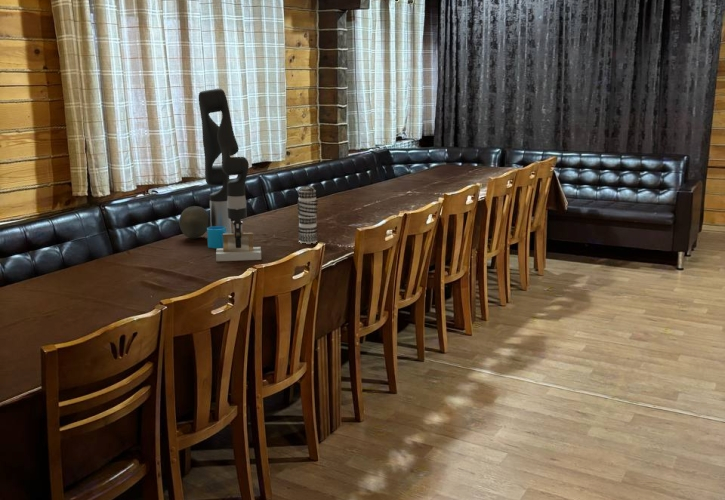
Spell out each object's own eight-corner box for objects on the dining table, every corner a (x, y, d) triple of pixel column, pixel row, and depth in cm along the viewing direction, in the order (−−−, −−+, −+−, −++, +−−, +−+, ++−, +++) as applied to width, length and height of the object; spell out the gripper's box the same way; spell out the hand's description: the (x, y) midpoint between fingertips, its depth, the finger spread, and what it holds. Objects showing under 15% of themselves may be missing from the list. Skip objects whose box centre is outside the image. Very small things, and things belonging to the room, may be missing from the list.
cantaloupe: (173, 239, 308) (171, 207, 304) (194, 234, 320) (192, 203, 317) (196, 243, 302) (195, 210, 298) (217, 237, 314) (215, 205, 310)
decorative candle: (315, 244, 300) (314, 189, 294) (295, 243, 302) (294, 188, 296) (320, 240, 309) (320, 186, 303) (301, 239, 310) (300, 185, 305)
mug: (203, 246, 296) (202, 228, 294) (217, 243, 302) (216, 225, 300) (223, 250, 289) (222, 231, 287) (236, 246, 296) (236, 228, 294)
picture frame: (223, 254, 277) (222, 233, 275) (253, 253, 279) (252, 232, 277) (223, 256, 275) (222, 234, 272) (253, 255, 277) (252, 233, 274)
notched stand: (217, 255, 280) (216, 248, 279) (260, 253, 283) (260, 246, 283) (216, 261, 271) (215, 254, 270) (261, 259, 274) (261, 252, 273)
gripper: (227, 203, 278) (229, 241, 282) (227, 209, 264) (228, 249, 268) (246, 203, 279) (247, 241, 283) (246, 209, 266) (248, 249, 270)
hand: (238, 245), depth 276 cm, fingers open, 8 cm apart
